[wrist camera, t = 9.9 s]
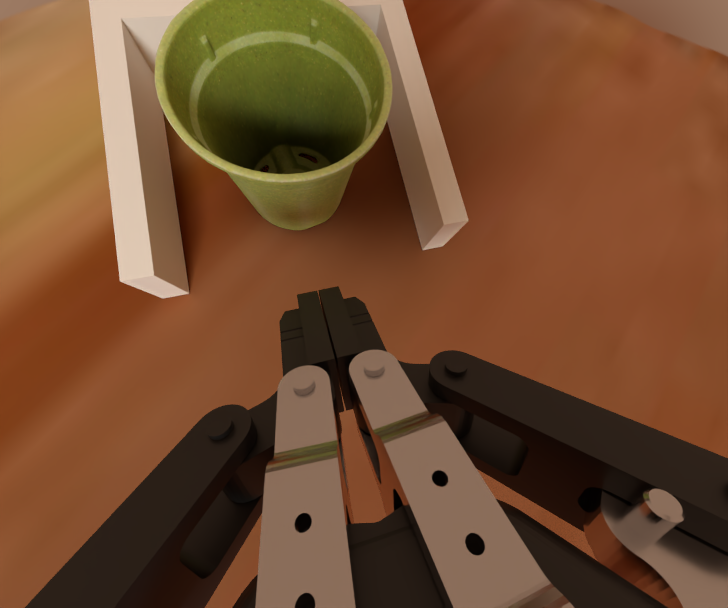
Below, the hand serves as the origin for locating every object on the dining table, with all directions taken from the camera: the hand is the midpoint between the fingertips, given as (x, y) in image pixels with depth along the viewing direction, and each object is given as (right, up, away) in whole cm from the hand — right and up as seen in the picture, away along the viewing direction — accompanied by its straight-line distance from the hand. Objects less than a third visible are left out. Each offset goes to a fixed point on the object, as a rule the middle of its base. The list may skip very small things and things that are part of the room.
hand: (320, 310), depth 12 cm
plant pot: (-3, +8, +10) cm, 13 cm away
